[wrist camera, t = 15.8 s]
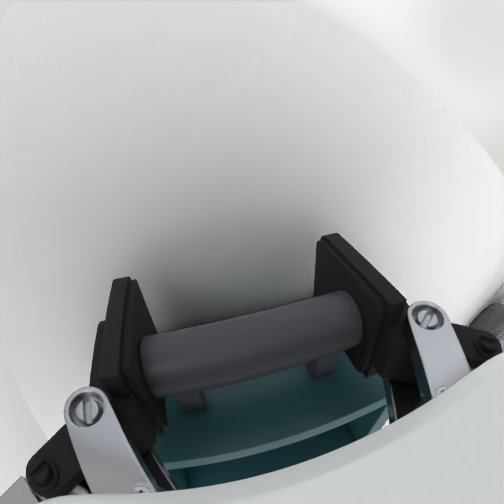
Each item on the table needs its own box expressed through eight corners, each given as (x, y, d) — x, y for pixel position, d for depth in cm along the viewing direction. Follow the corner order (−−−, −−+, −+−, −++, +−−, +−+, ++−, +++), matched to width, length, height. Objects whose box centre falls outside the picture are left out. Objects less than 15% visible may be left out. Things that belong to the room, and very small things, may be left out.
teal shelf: (92, 279, 9) (63, 422, 5) (346, 227, 11) (446, 319, 6) (188, 441, 17) (203, 510, 13) (317, 408, 19) (347, 469, 14)
